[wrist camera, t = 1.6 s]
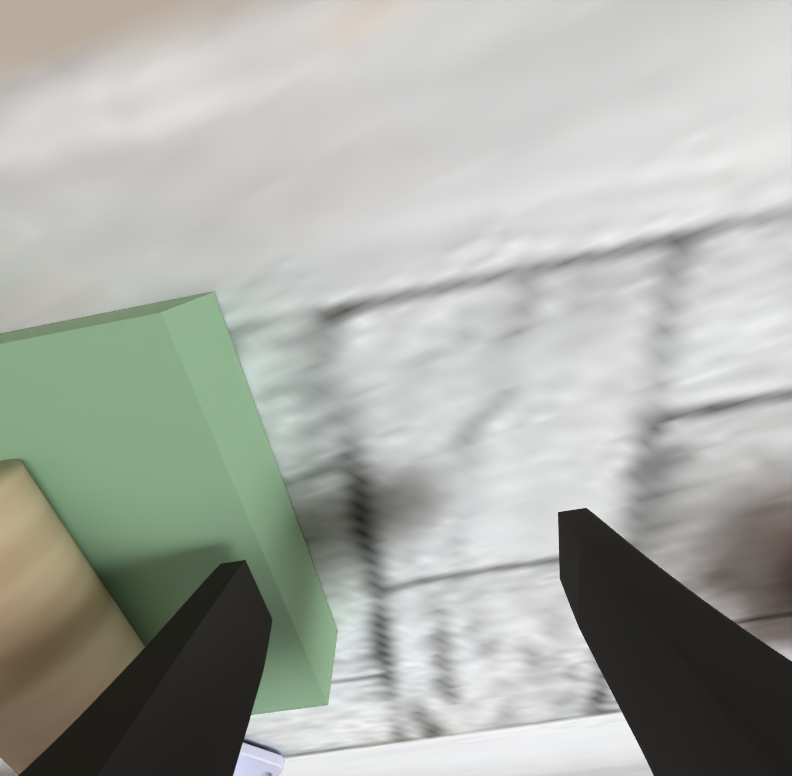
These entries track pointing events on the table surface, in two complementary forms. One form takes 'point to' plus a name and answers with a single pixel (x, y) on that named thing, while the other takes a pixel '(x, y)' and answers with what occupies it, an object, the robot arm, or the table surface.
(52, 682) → the roller
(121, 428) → the green slotted board
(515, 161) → the table surface
